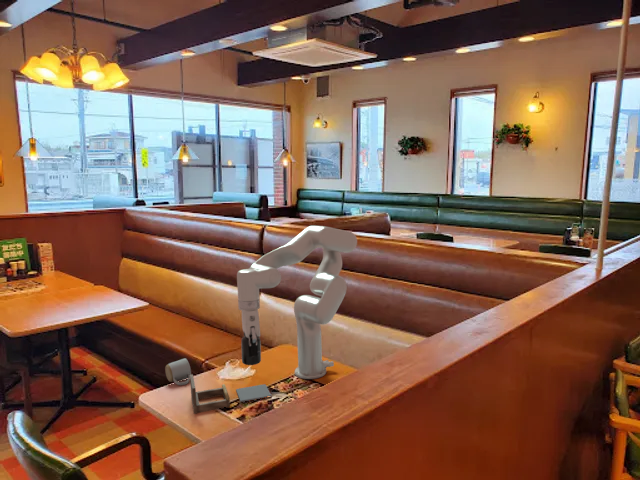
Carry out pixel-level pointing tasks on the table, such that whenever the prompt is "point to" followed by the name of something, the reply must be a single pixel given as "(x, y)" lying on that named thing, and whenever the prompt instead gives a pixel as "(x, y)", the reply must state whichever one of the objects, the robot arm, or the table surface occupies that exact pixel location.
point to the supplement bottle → (245, 354)
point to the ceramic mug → (178, 371)
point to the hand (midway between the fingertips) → (251, 352)
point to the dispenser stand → (207, 394)
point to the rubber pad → (252, 392)
